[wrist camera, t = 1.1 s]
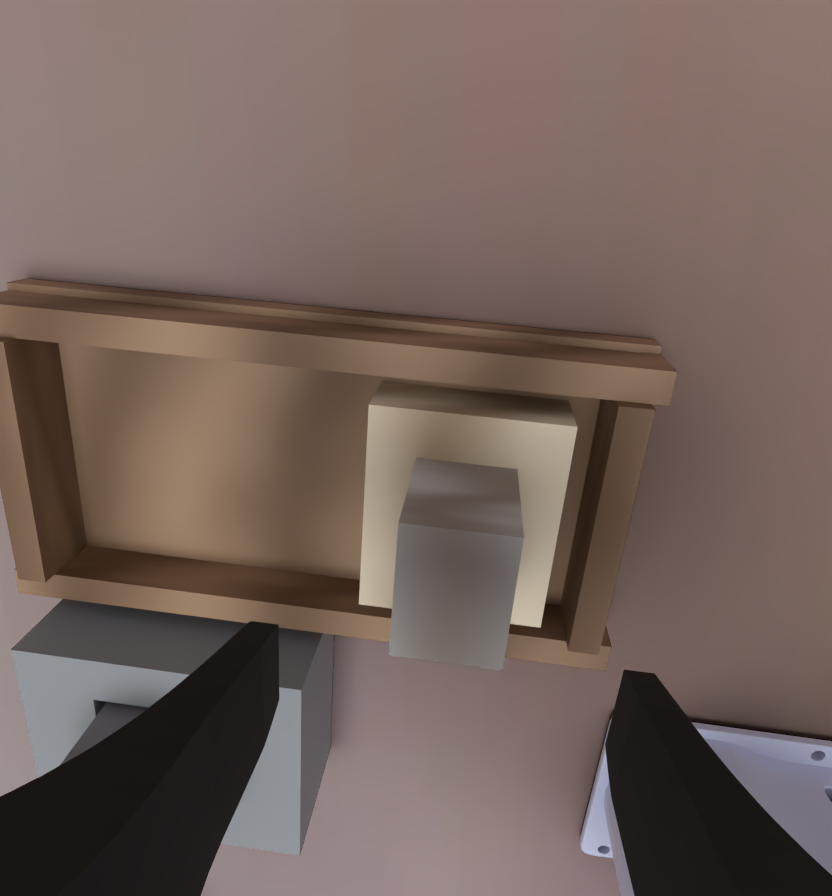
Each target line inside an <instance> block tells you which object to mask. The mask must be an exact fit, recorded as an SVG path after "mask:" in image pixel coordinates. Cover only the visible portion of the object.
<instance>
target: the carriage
mask: <svg viewBox="0 0 832 896" xmlns="http://www.w3.org/2000/svg"><path fill="white" fill-rule="evenodd" d="M577 428H578V426H577V424H576V421H575V418H574V415H573V413H572V410H571V407H570V404H569V402H568V401H565V400H555V399H546V398H536V397H527V396H517V395H508V394H498V393H488V392H479V391H469V390H460V389H450V388H440V387H431V386H421V385H412V384H402V383H393V382H383V381H382V382H381V383H380V385H379V387H378V389H377V391H376V392H375V394H374V396H373V398H372V400H371V401H370V403H369V409H368V429H367V449H366V469H365V489H364V509H363V529H362V549H361V569H360V590H359V604H360V605H368V606H376V607H384V608H391V609H392V617H391V630H390V643H389V656H395V657H403V658H410V659H417V660H425V661H432V662H440V663H447V664H455V665H462V666H470V667H477V668H484V669H492V670H499V671H503V665H504V659H505V652H506V646H507V640H508V634H509V628H510V624H515V625H523V626H531V627H539V628H541V623H542V617H543V612H544V607H545V601H546V596H547V590H548V585H549V580H550V574H551V569H552V563H553V558H554V552H555V547H556V542H557V536H558V531H559V525H560V520H561V515H562V509H563V504H564V498H565V493H566V488H567V482H568V477H569V471H570V466H571V461H572V455H573V450H574V444H575V439H576V434H577Z"/></svg>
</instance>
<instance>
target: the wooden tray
mask: <svg viewBox="0 0 832 896" xmlns="http://www.w3.org/2000/svg"><path fill="white" fill-rule="evenodd" d="M7 287H8V290H7V291H3V292H0V488H1V493H2V498H3V503H4V508H5V514H6V519H7V524H8V529H9V534H10V539H11V545H12V550H13V555H14V560H15V565H16V569H14V570H15V575H16V580H17V585H18V590H19V593H24V594H31V595H39V596H46V597H54V598H62V599H69V600H77V601H84V602H92V603H99V604H107V605H114V606H122V607H129V608H137V609H144V610H152V611H159V612H167V613H175V614H182V615H190V616H197V617H205V618H212V619H220V620H227V621H235V622H242V623H249V622H250V621H255V622H263V623H271V624H278V625H279V627H280V628H288V629H295V630H303V631H310V632H318V633H325V634H333V635H340V636H348V637H355V638H363V639H370V640H378V641H385V642H390V630H391V617H392V609H391V608H384V607H376V606H368V605H360V604H359V590H360V569H361V549H362V529H363V509H364V489H365V469H366V449H367V429H368V409H369V403H370V401H371V400H372V398H373V396H374V394H375V392H376V391H377V389H378V387H379V385H380V383H381V382H382V381H383V382H393V383H402V384H412V385H421V386H431V387H440V388H450V389H460V390H469V391H479V392H488V393H498V394H508V395H517V396H527V397H536V398H546V399H555V400H565V401H568V402H569V404H570V407H571V410H572V413H573V415H574V418H575V421H576V424H577V426H578V428H577V434H576V439H575V444H574V450H573V455H572V461H571V466H570V471H569V477H568V482H567V488H566V493H565V498H564V504H563V509H562V515H561V520H560V525H559V531H558V536H557V542H556V547H555V552H554V558H553V563H552V569H551V574H550V580H549V585H548V590H547V596H546V601H545V607H544V612H543V617H542V623H541V628H539V627H531V626H523V625H515V624H510V628H509V634H508V640H507V646H506V652H505V657H506V658H514V659H521V660H529V661H536V662H544V663H551V664H559V665H566V666H574V667H581V668H589V669H596V670H604V671H606V668H607V664H608V660H609V656H610V652H611V648H612V647H611V643H610V639H609V635H608V632H607V628H606V622H607V618H608V613H609V609H610V605H611V601H612V596H613V592H614V588H615V583H616V579H617V575H618V570H619V566H620V562H621V558H622V553H623V549H624V545H625V540H626V536H627V532H628V527H629V523H630V519H631V515H632V510H633V506H634V502H635V497H636V493H637V489H638V484H639V480H640V476H641V472H642V467H643V463H644V459H645V454H646V450H647V446H648V441H649V437H650V433H651V429H652V424H653V420H654V416H655V411H656V410H655V408H654V407H653V406H652V404H653V405H662V406H670V403H671V398H672V394H673V390H674V386H675V382H676V378H677V373H678V372H677V371H676V370H675V369H674V368H673V367H672V366H671V365H670V364H669V363H668V362H667V361H666V360H665V359H664V358H663V357H662V356H661V355H660V353H661V349H662V346H661V345H660V344H659V343H658V342H657V341H656V340H654V339H646V338H636V337H626V336H615V335H605V334H595V333H584V332H574V331H564V330H553V329H543V328H533V327H523V326H512V325H502V324H492V323H481V322H471V321H461V320H450V319H440V318H430V317H419V316H409V315H399V314H388V313H378V312H368V311H357V310H347V309H337V308H326V307H316V306H306V305H295V304H285V303H275V302H264V301H254V300H244V299H233V298H223V297H213V296H202V295H192V294H182V293H171V292H161V291H151V290H140V289H130V288H120V287H110V286H99V285H89V284H79V283H68V282H58V281H48V280H37V279H22V280H17V281H12V282H7Z"/></svg>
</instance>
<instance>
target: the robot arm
mask: <svg viewBox="0 0 832 896" xmlns="http://www.w3.org/2000/svg"><path fill="white" fill-rule="evenodd" d="M278 702H279V625H278V624H271V623H263V622H255V621H250V622H249V623H247V624H246V625H245V626H244V627H242V628H241V629H240V630H239V631H238V632H237V633H236V634H235V635H234V636H233V637H232V638H230V639H229V640H228V641H227V642H226V643H225V644H224V645H223V646H222V647H221V648H220V649H218V650H217V651H216V652H215V653H214V654H213V655H212V656H211V657H209V658H208V659H207V660H206V661H205V662H204V663H203V664H202V665H200V666H199V667H198V668H197V669H196V670H195V671H193V672H192V673H191V674H190V675H189V676H187V677H186V678H185V679H184V680H183V681H182V682H180V683H179V684H178V685H177V686H176V687H174V688H173V689H172V690H171V691H169V692H168V693H167V694H166V695H164V696H163V697H162V698H160V699H159V700H158V701H157V702H155V703H154V704H153V705H151V706H150V707H149V708H147V709H146V710H145V711H144V712H142V713H141V714H140V715H138V716H137V717H135V718H134V719H133V720H131V721H130V722H128V723H127V724H126V725H124V726H123V727H121V728H120V729H118V730H117V731H116V732H114V733H113V734H111V735H110V736H108V737H107V738H105V739H103V740H102V741H100V742H99V743H97V744H96V745H94V746H93V747H91V748H89V749H88V750H86V751H84V752H83V753H81V754H79V755H77V756H76V757H74V758H72V759H70V760H69V761H67V762H65V763H63V764H62V765H60V766H58V767H56V768H55V769H53V770H51V771H49V772H48V773H46V774H44V775H42V776H40V777H39V778H37V779H35V780H33V781H31V782H29V783H27V784H25V785H23V786H21V787H19V788H17V789H15V790H13V791H11V792H9V793H7V794H5V795H3V796H1V797H0V896H201V893H202V890H203V887H204V884H205V881H206V878H207V876H208V873H209V870H210V868H211V865H212V863H213V861H214V858H215V856H216V853H217V851H218V848H219V846H220V844H221V842H222V840H223V837H224V835H225V833H226V831H227V829H228V826H229V824H230V822H231V820H232V817H233V815H234V813H235V811H236V809H237V806H238V804H239V802H240V800H241V798H242V795H243V793H244V791H245V789H246V787H247V784H248V782H249V780H250V778H251V776H252V773H253V771H254V769H255V767H256V764H257V762H258V760H259V758H260V755H261V753H262V751H263V748H264V746H265V743H266V740H267V737H268V734H269V731H270V728H271V725H272V722H273V719H274V715H275V712H276V709H277V706H278ZM815 751H817V752H815ZM813 752H815V753H813ZM580 845H581V849H582V851H583V852H585V853H586V854H589V855H595V856H601V857H608V858H613V859H614V865H615V870H616V876H617V881H618V887H619V892H620V896H832V741H826V740H819V739H811V738H804V737H797V736H790V735H782V734H775V733H768V732H760V731H753V730H746V729H738V728H731V727H724V726H717V725H709V724H702V723H695V722H691V721H690V720H689V719H688V717H687V716H686V715H685V713H684V712H683V711H682V709H681V708H680V707H679V705H678V704H677V703H676V701H675V700H674V699H673V697H672V696H671V695H670V693H669V692H668V691H667V689H666V688H665V687H664V685H663V684H662V683H661V681H660V680H659V679H658V678H657V676H656V675H655V674H653V673H645V672H637V671H630V670H624V672H623V676H622V680H621V684H620V688H619V692H618V696H617V700H616V704H615V708H614V712H613V716H612V718H611V719H610V722H609V726H608V730H607V734H606V738H605V742H604V746H603V750H602V754H601V758H600V762H599V766H598V769H597V773H596V777H595V781H594V785H593V789H592V793H591V797H590V801H589V805H588V809H587V813H586V817H585V821H584V825H583V829H582V833H581V837H580Z"/></svg>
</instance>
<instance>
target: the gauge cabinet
mask: <svg viewBox="0 0 832 896" xmlns="http://www.w3.org/2000/svg"><path fill="white" fill-rule="evenodd" d="M246 624H247V623H242V622H235V621H227V620H220V619H212V618H205V617H197V616H190V615H182V614H175V613H167V612H159V611H152V610H144V609H137V608H129V607H122V606H114V605H107V604H99V603H92V602H84V601H77V600H69V599H63V600H62V601H61V602H60V603H58V604H57V605H56V606H55V607H54V608H53V609H52V610H51V611H50V612H49V613H48V614H47V615H46V616H45V617H44V618H43V619H42V620H41V621H40V622H39V623H38V624H37V625H36V626H35V627H34V628H33V629H32V630H31V631H30V632H29V633H27V634H26V635H25V636H24V637H23V638H22V639H21V640H20V641H19V642H18V643H17V644H16V645H15V646H14V647H13V648H12V649H11V654H12V659H13V663H14V668H15V673H16V678H17V683H18V687H19V692H20V697H21V702H22V706H23V711H24V716H25V721H26V725H27V730H28V735H29V740H30V744H31V749H32V754H33V759H34V763H35V768H36V773H37V778H39V777H40V776H42V775H44V774H46V773H48V772H49V771H51V770H53V769H55V768H56V767H58V766H60V764H61V763H62V762H63V760H64V759H65V758H66V756H67V755H68V753H69V752H70V751H71V749H72V748H73V747H74V745H75V744H76V743H77V741H78V740H79V739H80V737H81V736H82V735H83V733H84V732H85V731H86V729H87V728H88V727H89V725H90V724H91V722H92V721H93V720H94V718H95V717H96V716H97V714H98V713H99V712H100V710H101V709H102V708H103V706H104V705H105V704H106V702H113V703H120V704H127V705H134V706H141V707H148V708H149V707H150V706H151V705H153V704H154V703H155V702H157V701H158V700H159V699H160V698H162V697H163V696H164V695H166V694H167V693H168V692H169V691H171V690H172V689H173V688H174V687H176V686H177V685H178V684H179V683H180V682H182V681H183V680H184V679H185V678H186V677H187V676H189V675H190V674H191V673H192V672H193V671H195V670H196V669H197V668H198V667H199V666H200V665H202V664H203V663H204V662H205V661H206V660H207V659H208V658H209V657H211V656H212V655H213V654H214V653H215V652H216V651H217V650H218V649H220V648H221V647H222V646H223V645H224V644H225V643H226V642H227V641H228V640H229V639H230V638H232V637H233V636H234V635H235V634H236V633H237V632H238V631H239V630H240V629H241V628H242V627H244V626H245V625H246ZM333 656H334V635H333V634H325V633H318V632H310V631H303V630H295V629H288V628H280V627H279V702H278V706H277V709H276V712H275V715H274V719H273V722H272V725H271V728H270V731H269V734H268V737H267V740H266V743H265V746H264V748H263V751H262V753H261V755H260V758H259V760H258V762H257V764H256V767H255V769H254V771H253V773H252V776H251V778H250V780H249V782H248V784H247V787H246V789H245V791H244V793H243V795H242V798H241V800H240V802H239V804H238V806H237V809H236V811H235V813H234V815H233V817H232V820H231V822H230V824H229V826H228V829H227V831H226V833H225V835H224V837H223V840H222V842H221V844H227V845H233V846H240V847H246V848H252V849H259V850H265V851H271V852H278V853H284V854H290V855H297V856H300V854H301V850H302V847H303V843H304V840H305V836H306V833H307V829H308V826H309V822H310V819H311V815H312V812H313V808H314V805H315V801H316V798H317V794H318V790H319V787H320V783H321V780H322V776H323V773H324V769H325V766H326V762H327V759H328V755H329V752H330V748H331V718H332V687H333Z"/></svg>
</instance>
